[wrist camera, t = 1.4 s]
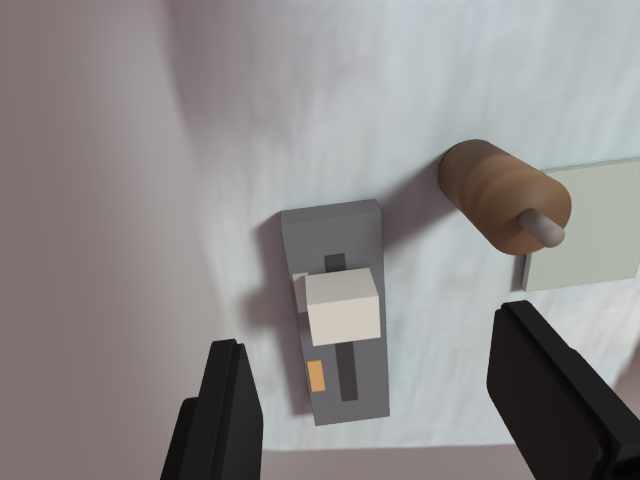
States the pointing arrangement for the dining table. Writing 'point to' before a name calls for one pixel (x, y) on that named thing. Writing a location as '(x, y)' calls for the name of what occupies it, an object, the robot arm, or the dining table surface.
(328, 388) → the switch board
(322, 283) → the switch tab
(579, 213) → the mat
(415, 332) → the dining table surface
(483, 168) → the tool handle
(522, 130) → the dining table surface
